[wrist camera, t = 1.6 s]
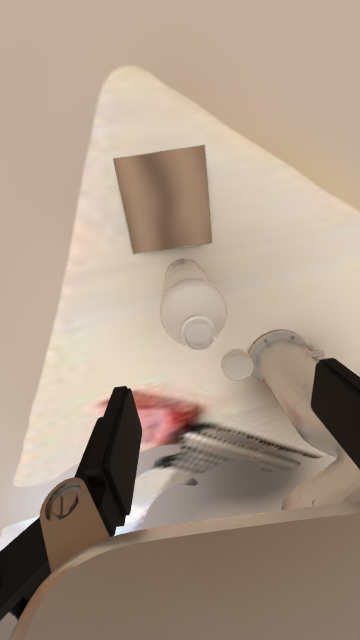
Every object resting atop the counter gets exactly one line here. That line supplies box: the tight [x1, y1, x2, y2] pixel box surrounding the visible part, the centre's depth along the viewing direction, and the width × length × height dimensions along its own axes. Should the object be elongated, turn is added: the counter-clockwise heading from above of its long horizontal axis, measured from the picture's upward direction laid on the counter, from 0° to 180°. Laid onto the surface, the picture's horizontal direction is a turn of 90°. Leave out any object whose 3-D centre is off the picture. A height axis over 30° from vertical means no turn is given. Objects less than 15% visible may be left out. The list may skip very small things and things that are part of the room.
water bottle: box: [160, 259, 254, 380], centre depth 27 cm, size 9×6×25 cm
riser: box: [113, 145, 212, 254], centre depth 31 cm, size 11×11×8 cm
